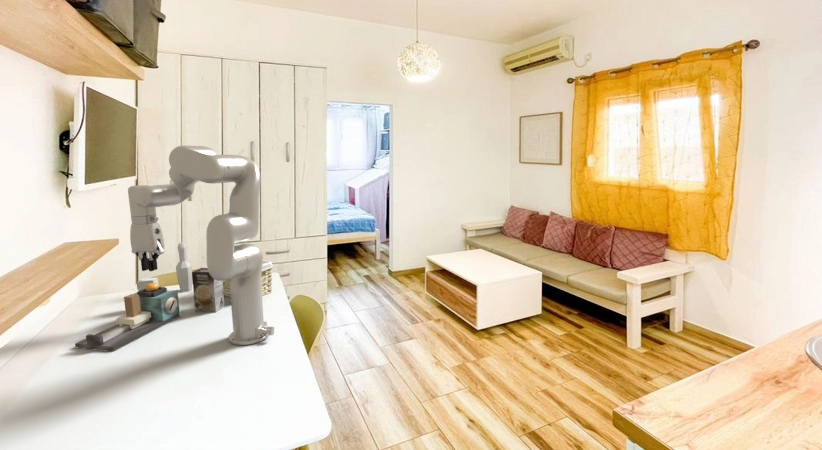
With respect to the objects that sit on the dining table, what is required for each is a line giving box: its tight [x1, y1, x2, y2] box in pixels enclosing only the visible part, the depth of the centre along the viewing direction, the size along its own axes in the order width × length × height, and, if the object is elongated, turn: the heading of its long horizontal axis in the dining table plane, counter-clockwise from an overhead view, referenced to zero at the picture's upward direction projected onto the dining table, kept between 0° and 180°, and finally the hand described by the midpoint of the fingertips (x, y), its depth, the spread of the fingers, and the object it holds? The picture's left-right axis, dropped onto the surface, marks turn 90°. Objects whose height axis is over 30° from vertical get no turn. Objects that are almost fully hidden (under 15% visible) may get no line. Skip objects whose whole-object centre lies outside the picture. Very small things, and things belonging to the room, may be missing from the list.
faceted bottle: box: [175, 242, 193, 293], centre depth 179 cm, size 6×6×22 cm
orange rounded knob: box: [145, 282, 159, 291], centre depth 145 cm, size 4×4×2 cm
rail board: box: [74, 286, 181, 352], centre depth 137 cm, size 15×28×12 cm, turn 170°
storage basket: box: [223, 259, 274, 298], centre depth 175 cm, size 24×16×15 cm
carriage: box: [115, 293, 151, 329], centre depth 138 cm, size 7×7×10 cm
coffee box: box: [192, 267, 225, 313], centre depth 156 cm, size 9×6×16 cm
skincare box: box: [136, 277, 160, 292], centre depth 158 cm, size 6×4×12 cm
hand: (149, 269), depth 144 cm, fingers closed
